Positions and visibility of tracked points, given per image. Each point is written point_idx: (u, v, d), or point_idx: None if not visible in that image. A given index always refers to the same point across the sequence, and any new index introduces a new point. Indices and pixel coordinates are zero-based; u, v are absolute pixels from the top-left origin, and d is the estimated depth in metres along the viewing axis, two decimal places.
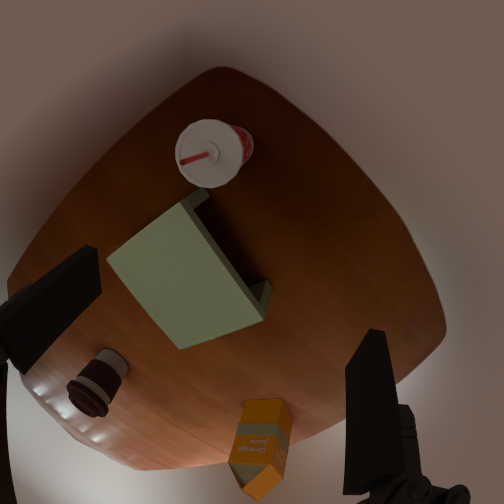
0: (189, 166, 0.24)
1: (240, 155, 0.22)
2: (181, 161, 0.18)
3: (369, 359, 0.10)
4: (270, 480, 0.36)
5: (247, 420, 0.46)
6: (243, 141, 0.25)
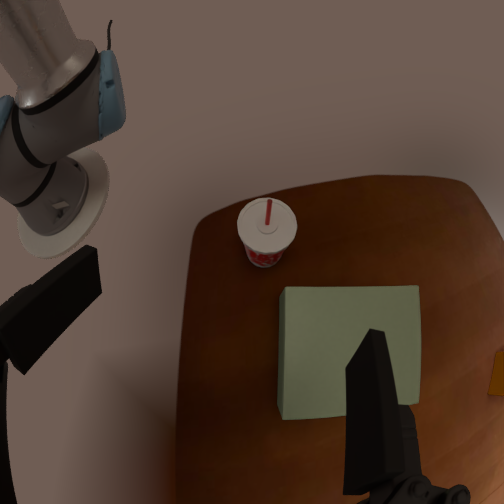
0: (266, 244, 0.28)
1: (283, 204, 0.30)
2: (268, 201, 0.24)
3: (369, 359, 0.10)
4: None
5: None
6: None
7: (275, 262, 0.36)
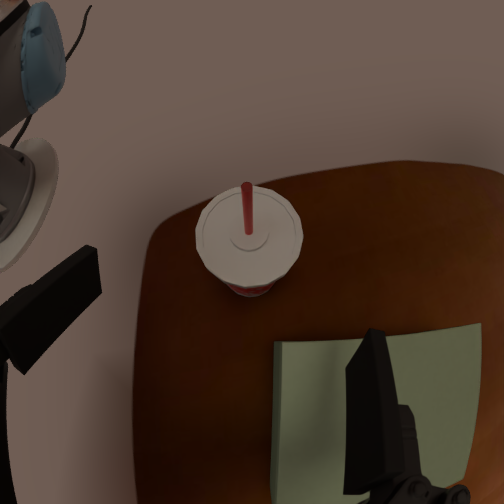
0: (247, 269, 0.15)
1: (278, 196, 0.17)
2: (244, 187, 0.11)
3: (369, 359, 0.10)
4: None
5: None
6: None
7: (267, 290, 0.23)
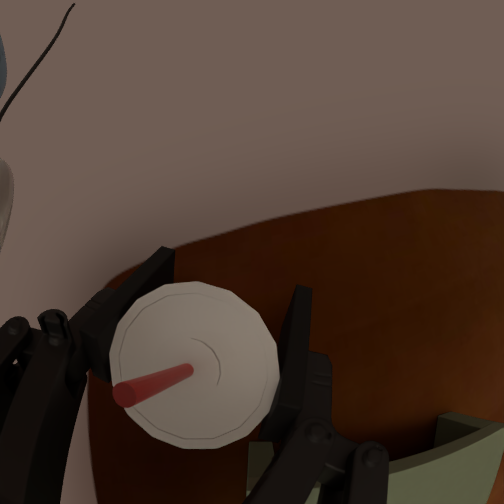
0: (188, 424, 0.08)
1: (240, 303, 0.09)
2: (119, 396, 0.04)
3: (291, 310, 0.12)
4: None
5: None
6: None
7: None
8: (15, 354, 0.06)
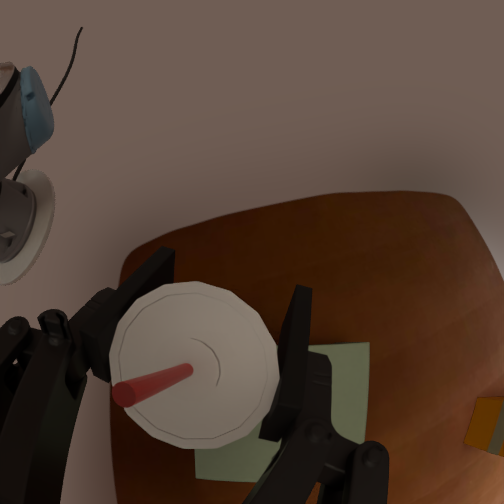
0: (187, 424, 0.08)
1: (240, 303, 0.09)
2: (118, 395, 0.04)
3: (291, 310, 0.12)
4: None
5: (486, 441, 0.20)
6: None
7: None
8: (15, 354, 0.06)
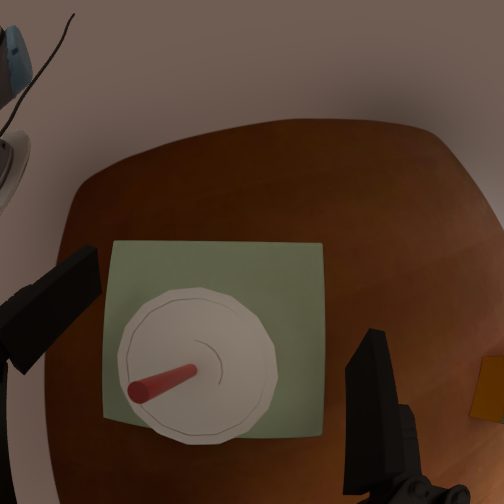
0: (191, 421, 0.09)
1: (241, 307, 0.10)
2: (133, 393, 0.05)
3: (369, 359, 0.10)
4: None
5: (498, 410, 0.17)
6: None
7: None
8: None
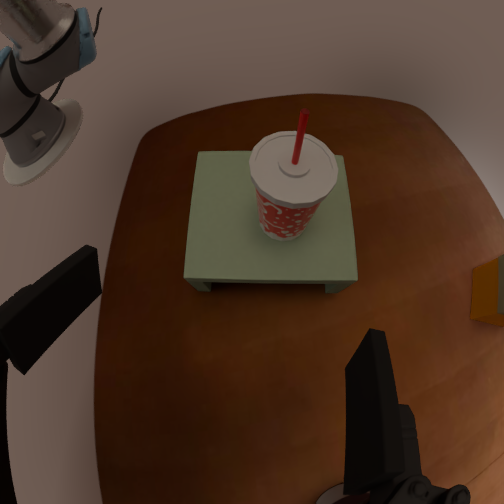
0: (295, 191, 0.18)
1: (315, 139, 0.19)
2: (303, 111, 0.14)
3: (369, 359, 0.10)
4: None
5: (493, 303, 0.26)
6: None
7: (299, 232, 0.25)
8: None
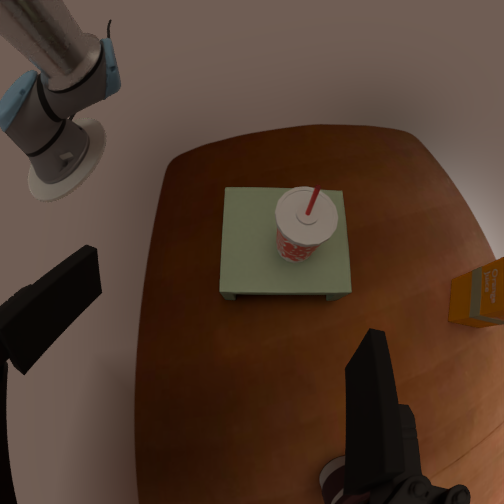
0: (307, 235, 0.26)
1: (322, 193, 0.27)
2: (316, 187, 0.22)
3: (369, 359, 0.10)
4: None
5: (466, 309, 0.34)
6: None
7: (308, 257, 0.33)
8: None
